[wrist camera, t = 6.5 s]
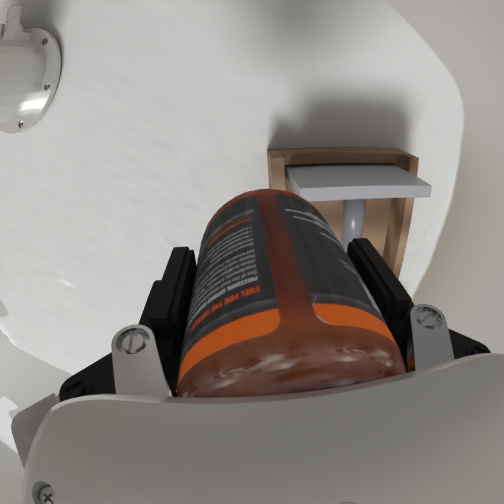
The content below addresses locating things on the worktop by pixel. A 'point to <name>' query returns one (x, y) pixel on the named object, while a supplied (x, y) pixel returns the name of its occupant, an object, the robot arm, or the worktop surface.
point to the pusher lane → (377, 209)
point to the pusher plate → (353, 188)
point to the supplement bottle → (279, 306)
